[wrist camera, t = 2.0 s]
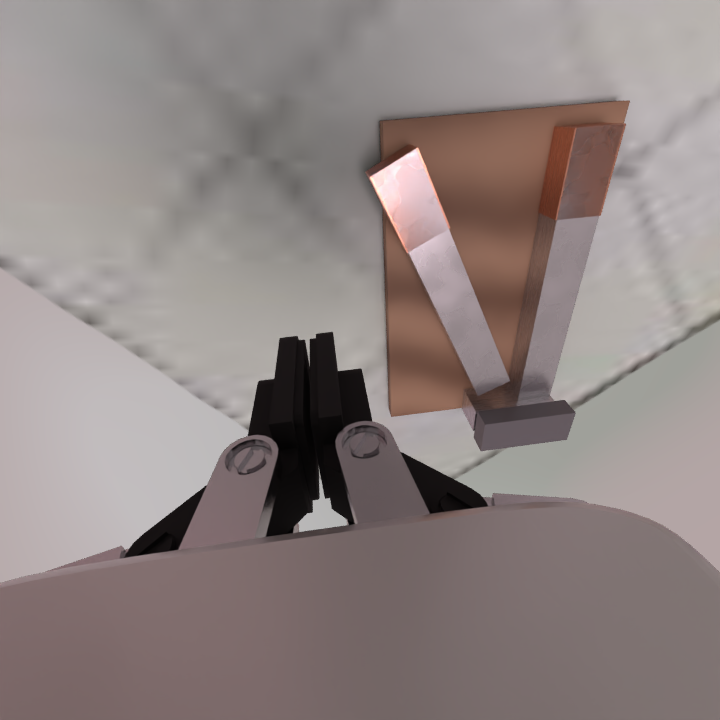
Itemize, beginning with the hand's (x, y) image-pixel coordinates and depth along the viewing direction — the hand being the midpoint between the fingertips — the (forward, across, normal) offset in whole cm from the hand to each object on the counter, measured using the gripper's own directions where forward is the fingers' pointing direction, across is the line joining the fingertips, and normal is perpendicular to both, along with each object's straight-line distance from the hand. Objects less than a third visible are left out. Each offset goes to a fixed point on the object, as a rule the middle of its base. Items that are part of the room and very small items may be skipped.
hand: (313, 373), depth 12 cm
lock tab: (+12, -15, +16) cm, 25 cm away
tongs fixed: (+16, -15, +6) cm, 22 cm away
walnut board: (+17, -12, +5) cm, 21 cm away
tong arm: (+15, -9, +4) cm, 18 cm away
